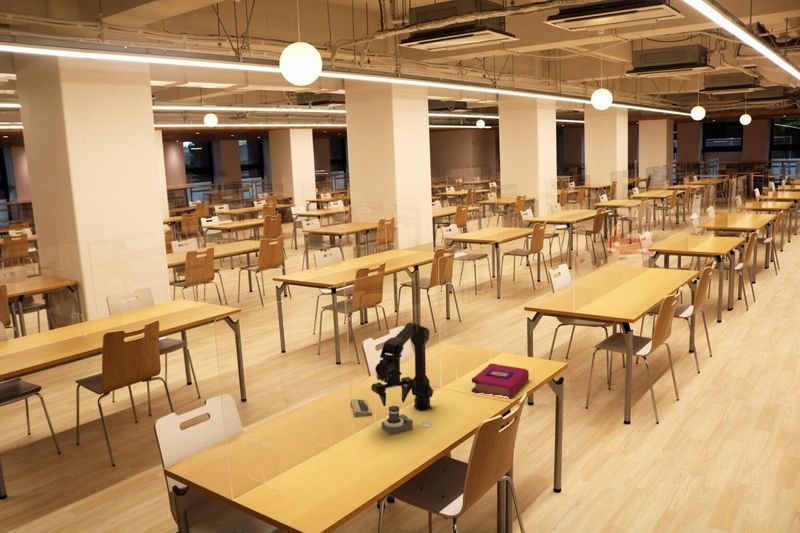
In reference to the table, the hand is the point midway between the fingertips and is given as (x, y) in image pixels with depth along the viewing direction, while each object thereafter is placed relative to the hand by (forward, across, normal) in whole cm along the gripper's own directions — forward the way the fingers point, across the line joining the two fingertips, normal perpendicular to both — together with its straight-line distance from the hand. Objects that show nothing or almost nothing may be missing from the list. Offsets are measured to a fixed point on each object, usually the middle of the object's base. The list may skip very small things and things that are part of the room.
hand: (393, 404), depth 294 cm
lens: (+9, 0, 0) cm, 9 cm away
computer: (+12, +3, -27) cm, 30 cm away
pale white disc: (+12, -15, +3) cm, 19 cm away
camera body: (+12, -2, 0) cm, 12 cm away
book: (+12, -72, -19) cm, 75 cm away
